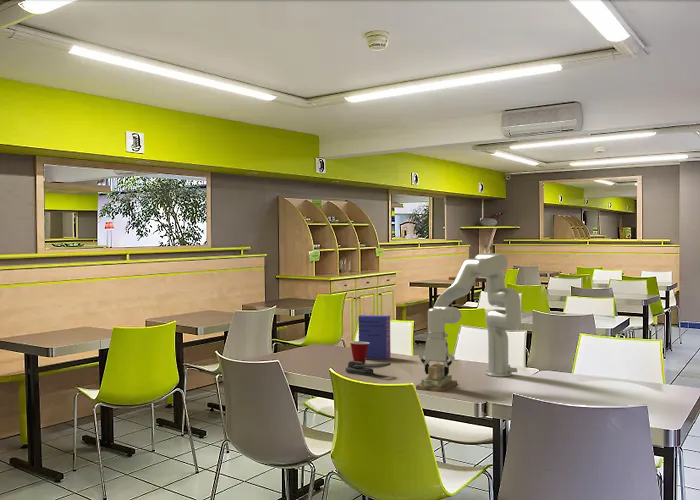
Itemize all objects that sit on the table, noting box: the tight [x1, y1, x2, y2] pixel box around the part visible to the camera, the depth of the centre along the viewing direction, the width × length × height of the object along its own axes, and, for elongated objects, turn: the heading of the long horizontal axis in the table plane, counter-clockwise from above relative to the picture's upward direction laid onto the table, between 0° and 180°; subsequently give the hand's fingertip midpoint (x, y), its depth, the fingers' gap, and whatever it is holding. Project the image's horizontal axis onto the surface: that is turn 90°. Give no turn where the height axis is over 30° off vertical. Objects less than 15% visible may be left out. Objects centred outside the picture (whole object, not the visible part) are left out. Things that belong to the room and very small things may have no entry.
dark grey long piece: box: [345, 360, 392, 376], centre depth 311 cm, size 9×7×25 cm
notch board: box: [415, 374, 458, 393], centre depth 283 cm, size 13×18×4 cm
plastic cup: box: [349, 340, 370, 364], centre depth 338 cm, size 11×11×12 cm
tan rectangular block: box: [427, 362, 445, 381], centre depth 283 cm, size 4×12×8 cm, turn 153°
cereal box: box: [358, 314, 392, 360], centre depth 355 cm, size 17×5×24 cm, turn 82°
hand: (436, 374), depth 283 cm, fingers open, 8 cm apart
